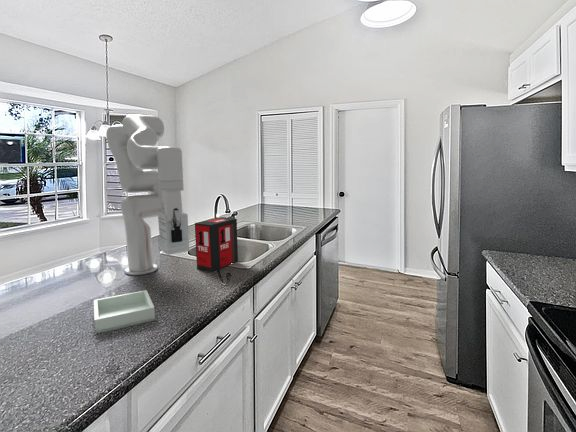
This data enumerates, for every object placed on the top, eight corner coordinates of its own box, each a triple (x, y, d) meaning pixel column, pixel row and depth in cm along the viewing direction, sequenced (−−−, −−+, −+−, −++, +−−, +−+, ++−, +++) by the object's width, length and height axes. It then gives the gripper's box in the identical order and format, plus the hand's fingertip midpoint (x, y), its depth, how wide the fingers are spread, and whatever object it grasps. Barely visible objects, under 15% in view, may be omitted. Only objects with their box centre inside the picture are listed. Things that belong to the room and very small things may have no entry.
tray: (95, 312, 102) (93, 299, 101) (147, 301, 110) (146, 290, 109) (95, 333, 89) (94, 320, 89) (155, 320, 97) (154, 307, 96)
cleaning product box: (212, 272, 137) (210, 225, 134) (197, 269, 142) (194, 223, 138) (237, 262, 152) (236, 218, 148) (222, 259, 156) (221, 217, 153)
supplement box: (181, 246, 116) (179, 210, 113) (189, 251, 110) (188, 213, 108) (159, 250, 111) (157, 212, 109) (167, 255, 106) (165, 216, 103)
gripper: (154, 184, 112) (157, 234, 115) (164, 188, 97) (167, 246, 101) (177, 183, 116) (179, 232, 119) (190, 187, 101) (192, 243, 104)
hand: (174, 238), depth 110 cm, fingers closed on supplement box, 8 cm apart
